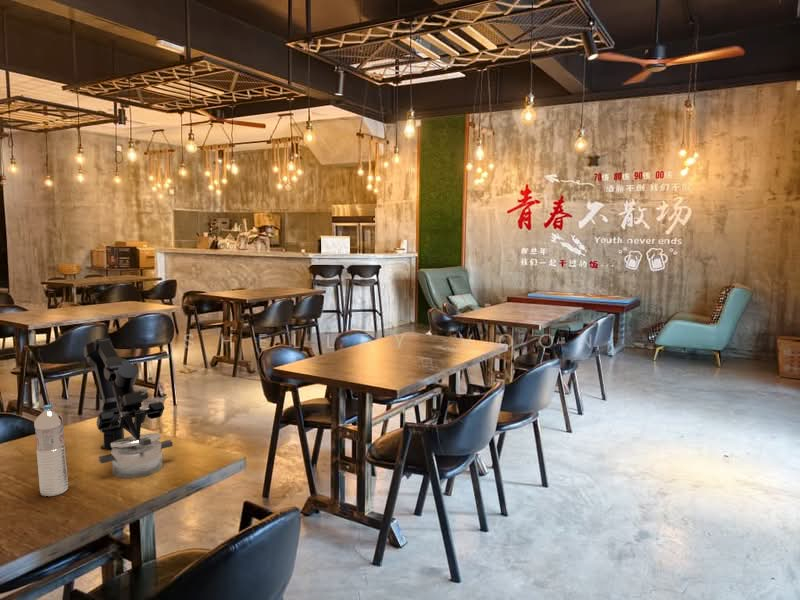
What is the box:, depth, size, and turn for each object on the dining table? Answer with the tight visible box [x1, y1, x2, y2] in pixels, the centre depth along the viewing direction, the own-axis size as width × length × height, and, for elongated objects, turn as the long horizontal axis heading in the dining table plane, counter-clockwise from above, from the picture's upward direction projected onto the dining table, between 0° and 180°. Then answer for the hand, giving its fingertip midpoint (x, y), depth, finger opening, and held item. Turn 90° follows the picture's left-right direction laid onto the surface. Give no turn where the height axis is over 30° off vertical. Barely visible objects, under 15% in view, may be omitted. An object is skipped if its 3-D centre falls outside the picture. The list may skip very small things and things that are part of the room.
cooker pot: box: [98, 439, 174, 479], centre depth 176 cm, size 15×21×7 cm
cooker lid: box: [110, 432, 162, 448], centre depth 173 cm, size 18×14×2 cm
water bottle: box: [33, 404, 69, 497], centre depth 159 cm, size 7×7×25 cm
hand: (138, 438), depth 173 cm, fingers closed
